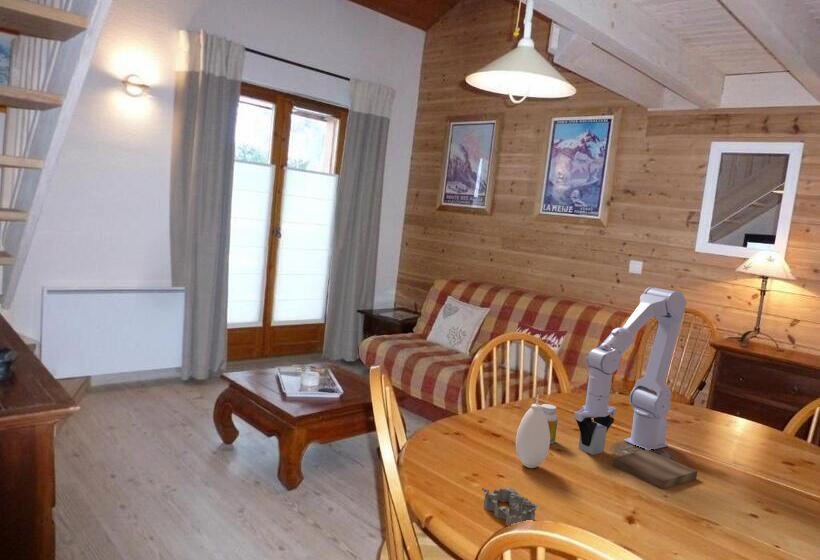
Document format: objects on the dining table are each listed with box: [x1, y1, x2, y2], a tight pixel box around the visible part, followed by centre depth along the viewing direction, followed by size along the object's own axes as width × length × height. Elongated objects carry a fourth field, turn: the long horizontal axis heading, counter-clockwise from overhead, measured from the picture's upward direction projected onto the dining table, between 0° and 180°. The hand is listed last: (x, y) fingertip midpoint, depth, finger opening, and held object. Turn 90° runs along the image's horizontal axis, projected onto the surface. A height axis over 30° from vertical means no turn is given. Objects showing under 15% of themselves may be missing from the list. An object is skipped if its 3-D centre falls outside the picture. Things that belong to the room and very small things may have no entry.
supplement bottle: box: [540, 403, 559, 445], centre depth 161 cm, size 5×5×10 cm
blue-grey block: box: [578, 420, 608, 456], centre depth 156 cm, size 5×5×7 cm
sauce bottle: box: [515, 394, 551, 469], centre depth 142 cm, size 8×8×18 cm
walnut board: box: [612, 449, 698, 490], centre depth 146 cm, size 14×14×2 cm
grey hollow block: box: [481, 487, 540, 527], centre depth 118 cm, size 11×8×4 cm
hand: (591, 443), depth 157 cm, fingers closed on blue-grey block, 5 cm apart
